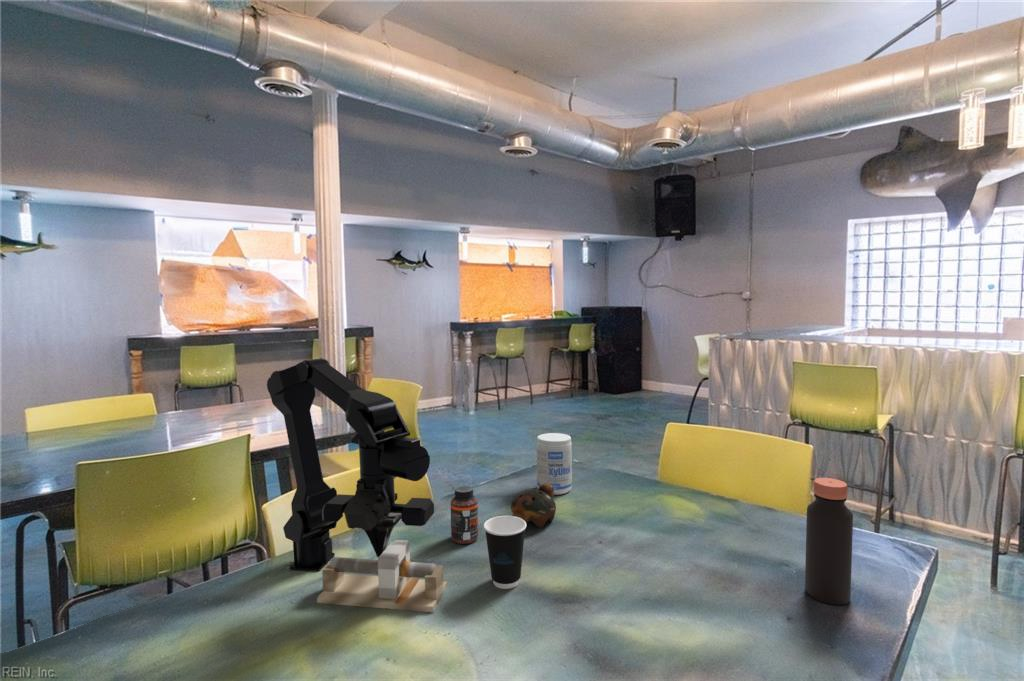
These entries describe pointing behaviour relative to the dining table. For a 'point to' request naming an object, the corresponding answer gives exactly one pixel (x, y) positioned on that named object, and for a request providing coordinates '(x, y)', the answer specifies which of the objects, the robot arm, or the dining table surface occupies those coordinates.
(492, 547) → the dixie cup
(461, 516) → the supplement bottle
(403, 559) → the collar
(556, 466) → the supplement tub
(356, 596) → the pipe rig
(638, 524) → the dining table surface
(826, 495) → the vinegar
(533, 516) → the ocarina
